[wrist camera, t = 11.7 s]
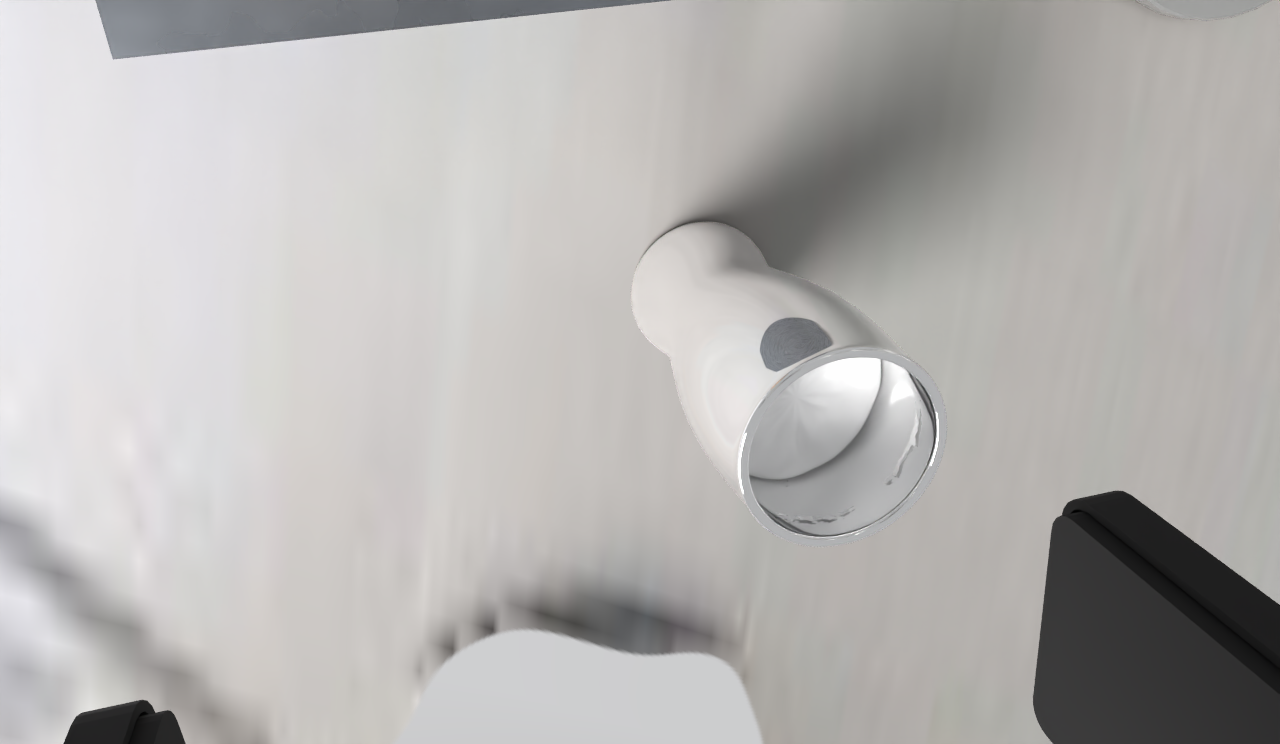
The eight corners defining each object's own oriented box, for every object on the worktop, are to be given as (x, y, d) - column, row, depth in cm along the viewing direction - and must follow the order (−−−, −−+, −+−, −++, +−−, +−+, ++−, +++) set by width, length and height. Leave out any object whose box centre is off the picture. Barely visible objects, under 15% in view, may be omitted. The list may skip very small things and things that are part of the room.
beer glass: (587, 317, 41) (683, 496, 28) (682, 177, 40) (832, 296, 26) (714, 391, 44) (856, 587, 31) (806, 263, 43) (999, 410, 29)
